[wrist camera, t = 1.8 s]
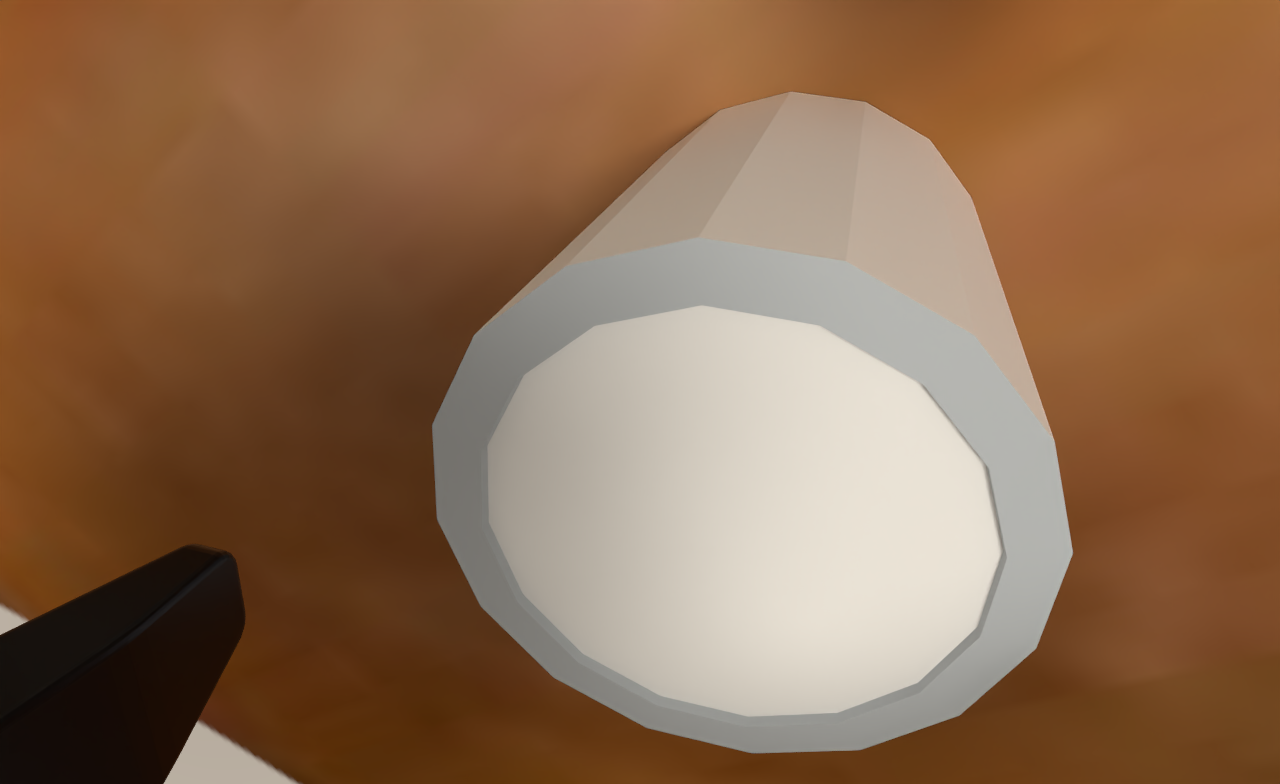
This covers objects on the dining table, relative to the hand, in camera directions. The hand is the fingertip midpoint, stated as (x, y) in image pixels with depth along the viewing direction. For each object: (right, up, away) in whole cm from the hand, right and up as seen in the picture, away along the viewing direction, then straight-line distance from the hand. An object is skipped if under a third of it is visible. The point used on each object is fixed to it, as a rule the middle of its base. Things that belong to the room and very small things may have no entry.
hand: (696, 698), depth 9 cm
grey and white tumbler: (+2, +5, +8) cm, 9 cm away
